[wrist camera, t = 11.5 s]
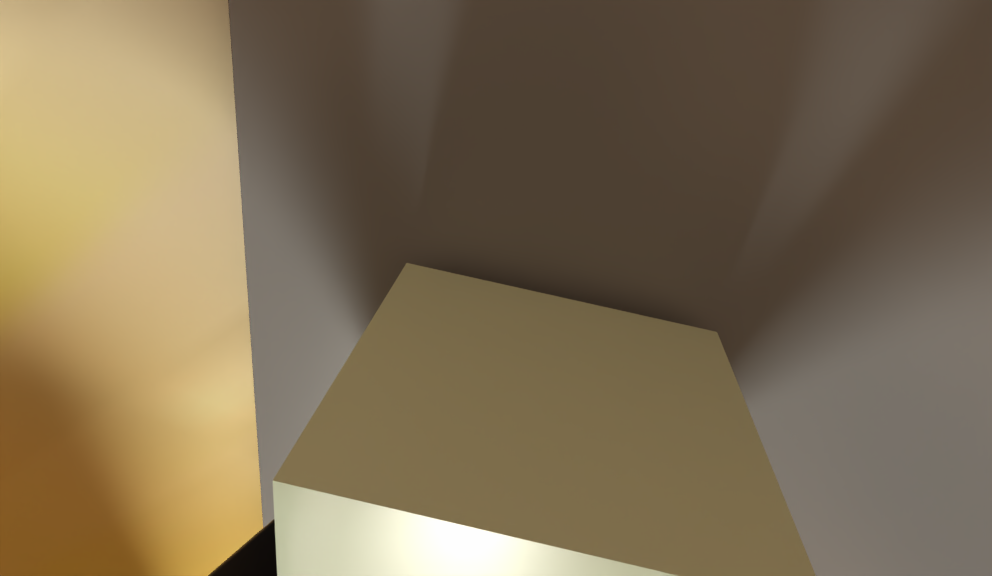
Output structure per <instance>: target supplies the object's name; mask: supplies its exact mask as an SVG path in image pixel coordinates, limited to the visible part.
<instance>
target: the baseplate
mask: <svg viewBox="0 0 992 576" xmlns="http://www.w3.org/2000/svg"><path fill="white" fill-rule="evenodd" d="M228 3H229V18H230V33H231V48H232V63H233V78H234V93H235V108H236V123H237V138H238V153H239V168H240V183H241V198H242V213H243V228H244V243H245V258H246V273H247V288H248V303H249V318H250V333H251V348H252V363H253V378H254V393H255V408H256V423H257V438H258V453H259V468H260V483H261V498H262V513H263V528H264V527H265V526H266V525H267V524H269V523H270V522H271V521H272V520H273V519H274V500H273V479H274V477H275V476H276V474H277V472H278V471H279V469H280V468H281V466H282V464H283V463H284V461H285V460H286V458H287V456H288V455H289V453H290V451H291V450H292V448H293V447H294V445H295V443H296V442H297V440H298V438H299V437H300V435H301V434H302V432H303V430H304V429H305V427H306V425H307V424H308V422H309V421H310V419H311V417H312V416H313V414H314V412H315V411H316V409H317V408H318V406H319V404H320V403H321V401H322V399H323V398H324V396H325V395H326V393H327V391H328V390H329V388H330V386H331V385H332V383H333V382H334V380H335V378H336V377H337V375H338V373H339V372H340V370H341V369H342V367H343V365H344V364H345V362H346V360H347V359H348V357H349V356H350V354H351V352H352V351H353V349H354V347H355V346H356V344H357V343H358V341H359V339H360V338H361V336H362V334H363V333H364V331H365V330H366V328H367V326H368V325H369V323H370V322H371V320H372V318H373V317H374V315H375V313H376V312H377V310H378V309H379V307H380V305H381V304H382V302H383V300H384V299H385V297H386V296H387V294H388V292H389V291H390V289H391V287H392V286H393V284H394V283H395V281H396V279H397V278H398V276H399V274H400V273H401V271H402V270H403V268H404V266H405V265H406V263H410V264H414V265H419V266H423V267H428V268H432V269H437V270H441V271H446V272H450V273H455V274H459V275H464V276H468V277H473V278H477V279H482V280H486V281H491V282H495V283H500V284H504V285H509V286H513V287H518V288H522V289H527V290H531V291H536V292H540V293H544V294H549V295H553V296H558V297H562V298H567V299H571V300H576V301H580V302H585V303H589V304H594V305H598V306H603V307H607V308H612V309H616V310H621V311H625V312H630V313H634V314H639V315H643V316H648V317H652V318H657V319H661V320H666V321H670V322H675V323H679V324H684V325H688V326H693V327H697V328H702V329H706V330H711V331H715V332H717V333H718V336H719V338H720V340H721V343H722V345H723V348H724V350H725V353H726V355H727V358H728V360H729V363H730V365H731V368H732V370H733V373H734V375H735V378H736V380H737V382H738V385H739V387H740V390H741V392H742V395H743V397H744V400H745V402H746V405H747V407H748V410H749V412H750V415H751V417H752V420H753V422H754V424H755V427H756V429H757V432H758V434H759V437H760V439H761V442H762V444H763V447H764V449H765V452H766V454H767V457H768V459H769V461H770V464H771V466H772V469H773V471H774V474H775V476H776V479H777V481H778V484H779V486H780V489H781V491H782V494H783V496H784V499H785V501H786V503H787V506H788V508H789V511H790V513H791V516H792V518H793V521H794V523H795V526H796V528H797V531H798V533H799V536H800V538H801V540H802V543H803V545H804V548H805V550H806V553H807V555H808V558H809V560H810V563H811V565H812V568H813V570H814V573H815V575H816V576H992V0H228Z"/></svg>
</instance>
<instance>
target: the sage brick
mask: <svg viewBox="0 0 992 576" xmlns="http://www.w3.org/2000/svg"><path fill="white" fill-rule="evenodd" d="M273 500H274V520H275V540H276V561H277V576H816V575H815V573H814V570H813V568H812V565H811V563H810V560H809V558H808V555H807V553H806V550H805V548H804V545H803V543H802V540H801V538H800V536H799V533H798V531H797V528H796V526H795V523H794V521H793V518H792V516H791V513H790V511H789V508H788V506H787V503H786V501H785V499H784V496H783V494H782V491H781V489H780V486H779V484H778V481H777V479H776V476H775V474H774V471H773V469H772V466H771V464H770V461H769V459H768V457H767V454H766V452H765V449H764V447H763V444H762V442H761V439H760V437H759V434H758V432H757V429H756V427H755V424H754V422H753V420H752V417H751V415H750V412H749V410H748V407H747V405H746V402H745V400H744V397H743V395H742V392H741V390H740V387H739V385H738V382H737V380H736V378H735V375H734V373H733V370H732V368H731V365H730V363H729V360H728V358H727V355H726V353H725V350H724V348H723V345H722V343H721V340H720V338H719V336H718V333H717V332H715V331H711V330H706V329H702V328H697V327H693V326H688V325H684V324H679V323H675V322H670V321H666V320H661V319H657V318H652V317H648V316H643V315H639V314H634V313H630V312H625V311H621V310H616V309H612V308H607V307H603V306H598V305H594V304H589V303H585V302H580V301H576V300H571V299H567V298H562V297H558V296H553V295H549V294H544V293H540V292H536V291H531V290H527V289H522V288H518V287H513V286H509V285H504V284H500V283H495V282H491V281H486V280H482V279H477V278H473V277H468V276H464V275H459V274H455V273H450V272H446V271H441V270H437V269H432V268H428V267H423V266H419V265H414V264H410V263H406V265H405V266H404V268H403V270H402V271H401V273H400V274H399V276H398V278H397V279H396V281H395V283H394V284H393V286H392V287H391V289H390V291H389V292H388V294H387V296H386V297H385V299H384V300H383V302H382V304H381V305H380V307H379V309H378V310H377V312H376V313H375V315H374V317H373V318H372V320H371V322H370V323H369V325H368V326H367V328H366V330H365V331H364V333H363V334H362V336H361V338H360V339H359V341H358V343H357V344H356V346H355V347H354V349H353V351H352V352H351V354H350V356H349V357H348V359H347V360H346V362H345V364H344V365H343V367H342V369H341V370H340V372H339V373H338V375H337V377H336V378H335V380H334V382H333V383H332V385H331V386H330V388H329V390H328V391H327V393H326V395H325V396H324V398H323V399H322V401H321V403H320V404H319V406H318V408H317V409H316V411H315V412H314V414H313V416H312V417H311V419H310V421H309V422H308V424H307V425H306V427H305V429H304V430H303V432H302V434H301V435H300V437H299V438H298V440H297V442H296V443H295V445H294V447H293V448H292V450H291V451H290V453H289V455H288V456H287V458H286V460H285V461H284V463H283V464H282V466H281V468H280V469H279V471H278V472H277V474H276V476H275V477H274V479H273Z"/></svg>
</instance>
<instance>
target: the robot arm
mask: <svg viewBox="0 0 992 576" xmlns="http://www.w3.org/2000/svg"><path fill="white" fill-rule="evenodd" d="M208 576H277V561H276V540H275V520H274V519H273V520H272V521H271V522H270V523H269V524H267V525H266V526H265V527H264V528H263V529H262V530H260V531H259V532H258V533H257V534H256V535H255V536H253V537H252V538H251V539H250V540H249V541H248V542H247V543H245V544H244V545H243V546H242V547H241V548H240V549H238V550H237V551H236V552H235V553H234V554H233V555H231V556H230V557H229V558H228V559H227V560H226V561H224V562H223V563H222V564H221V565H220V566H219V567H218V568H216V569H215V570H214V571H213V572H212V573H211V574H209V575H208Z"/></svg>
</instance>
